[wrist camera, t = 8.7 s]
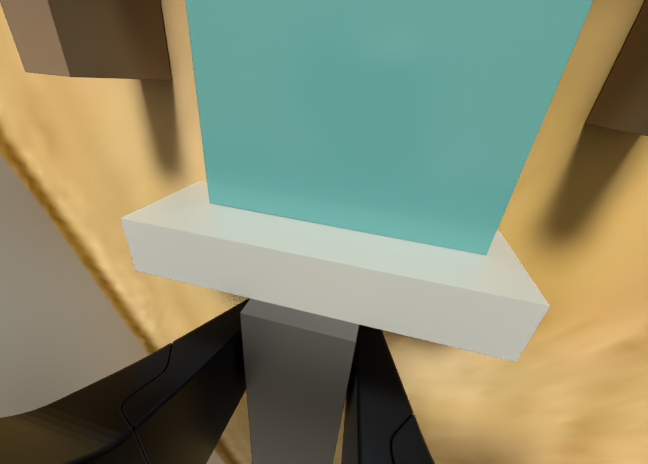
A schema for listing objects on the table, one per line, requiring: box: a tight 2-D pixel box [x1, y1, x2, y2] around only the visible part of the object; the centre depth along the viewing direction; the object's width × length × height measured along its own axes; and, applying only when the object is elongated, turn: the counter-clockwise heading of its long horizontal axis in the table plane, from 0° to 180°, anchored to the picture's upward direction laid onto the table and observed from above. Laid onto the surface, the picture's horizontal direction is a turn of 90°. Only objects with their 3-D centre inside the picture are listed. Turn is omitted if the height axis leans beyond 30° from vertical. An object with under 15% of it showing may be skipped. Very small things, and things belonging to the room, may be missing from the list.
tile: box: [186, 0, 593, 255], centre depth 6 cm, size 7×7×2 cm
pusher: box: [120, 181, 550, 464], centre depth 9 cm, size 10×9×4 cm
